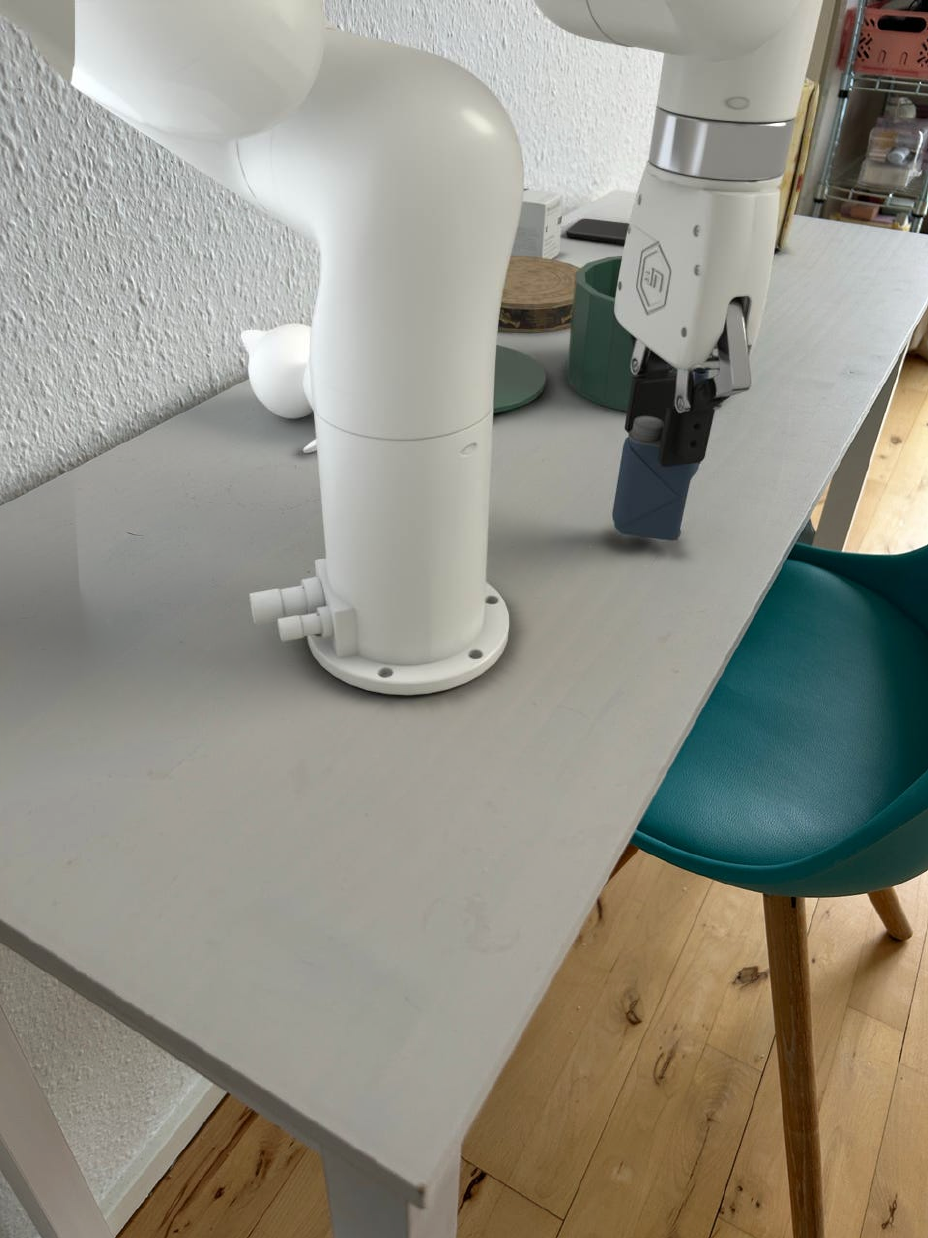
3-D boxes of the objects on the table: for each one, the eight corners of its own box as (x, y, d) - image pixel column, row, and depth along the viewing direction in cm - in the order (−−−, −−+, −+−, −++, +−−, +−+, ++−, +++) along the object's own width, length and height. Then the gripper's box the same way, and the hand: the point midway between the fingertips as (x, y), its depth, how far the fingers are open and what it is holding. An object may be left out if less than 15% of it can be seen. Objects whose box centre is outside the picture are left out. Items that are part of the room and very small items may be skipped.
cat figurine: (380, 323, 75) (259, 290, 80) (316, 432, 73) (194, 392, 77) (409, 388, 83) (298, 355, 87) (353, 489, 81) (241, 450, 85)
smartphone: (580, 217, 131) (688, 229, 127) (580, 224, 132) (687, 236, 127) (564, 231, 126) (676, 244, 121) (563, 238, 127) (675, 251, 122)
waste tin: (607, 423, 83) (620, 316, 77) (543, 359, 94) (550, 261, 88) (752, 403, 87) (775, 300, 81) (674, 344, 98) (689, 249, 92)
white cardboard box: (541, 267, 116) (546, 204, 112) (496, 260, 118) (499, 197, 114) (559, 254, 121) (564, 192, 116) (515, 247, 123) (519, 186, 118)
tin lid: (404, 431, 81) (403, 356, 77) (360, 361, 93) (357, 292, 89) (572, 408, 86) (579, 336, 81) (509, 344, 97) (513, 278, 93)
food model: (739, 235, 129) (772, 66, 117) (790, 242, 127) (828, 70, 115) (728, 256, 122) (761, 78, 109) (782, 263, 120) (822, 82, 107)
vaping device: (684, 544, 66) (720, 381, 59) (609, 533, 67) (635, 371, 60) (684, 525, 69) (719, 366, 61) (611, 515, 69) (637, 356, 62)
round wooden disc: (555, 343, 97) (557, 314, 96) (422, 313, 103) (421, 285, 102) (613, 297, 109) (617, 271, 107) (490, 273, 114) (491, 247, 113)
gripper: (593, 120, 58) (561, 401, 69) (741, 186, 46) (674, 516, 57) (701, 118, 60) (653, 391, 71) (870, 181, 48) (781, 500, 59)
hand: (663, 444), depth 64 cm, fingers closed on vaping device, 4 cm apart
